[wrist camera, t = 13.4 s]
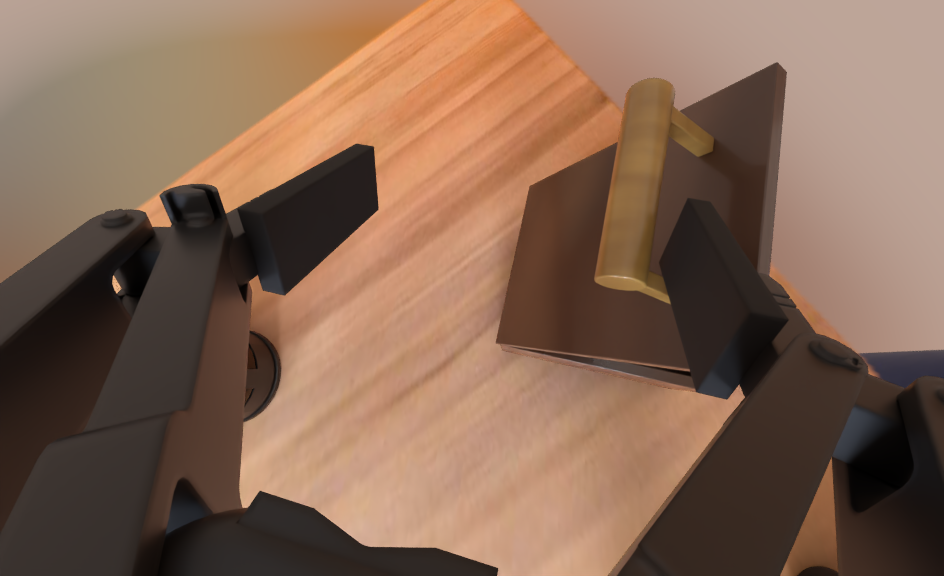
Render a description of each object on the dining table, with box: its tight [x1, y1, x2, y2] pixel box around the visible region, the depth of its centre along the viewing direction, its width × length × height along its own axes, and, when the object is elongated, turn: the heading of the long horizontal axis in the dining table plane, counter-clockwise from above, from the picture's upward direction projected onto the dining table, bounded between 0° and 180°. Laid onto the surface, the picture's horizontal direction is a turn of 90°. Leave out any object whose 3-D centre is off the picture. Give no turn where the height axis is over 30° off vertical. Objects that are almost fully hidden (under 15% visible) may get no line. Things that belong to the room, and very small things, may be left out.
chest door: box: [496, 63, 787, 371], centre depth 20 cm, size 17×13×6 cm
